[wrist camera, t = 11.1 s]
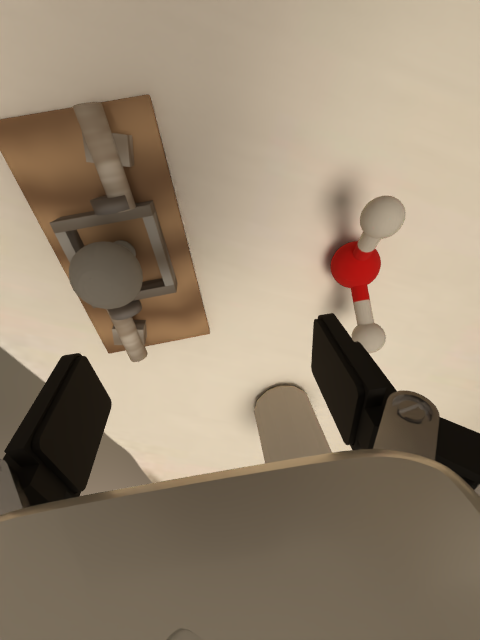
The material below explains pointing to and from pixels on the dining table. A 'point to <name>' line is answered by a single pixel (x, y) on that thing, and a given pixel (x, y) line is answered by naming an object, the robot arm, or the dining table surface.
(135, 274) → the light bulb
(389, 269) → the dining table surface
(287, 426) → the jar
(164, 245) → the shaft bench
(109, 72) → the dining table surface
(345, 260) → the molecular model
